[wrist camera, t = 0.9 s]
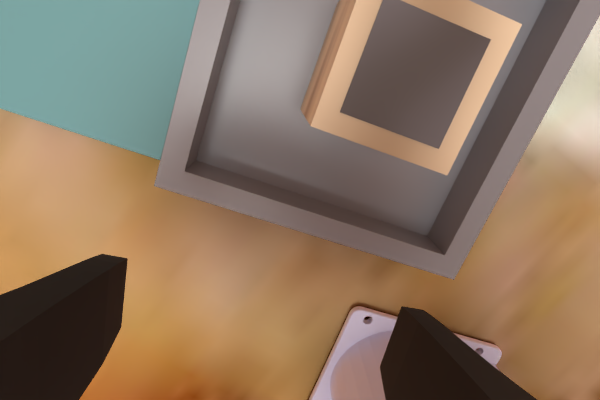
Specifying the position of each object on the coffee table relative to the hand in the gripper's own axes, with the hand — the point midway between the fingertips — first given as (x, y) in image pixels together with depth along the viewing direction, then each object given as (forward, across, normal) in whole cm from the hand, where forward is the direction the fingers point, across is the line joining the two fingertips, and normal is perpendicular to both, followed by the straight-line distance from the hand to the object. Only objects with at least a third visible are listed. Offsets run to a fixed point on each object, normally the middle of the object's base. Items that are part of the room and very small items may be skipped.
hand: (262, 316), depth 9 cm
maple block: (+8, -3, -7) cm, 11 cm away
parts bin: (+9, -3, -7) cm, 12 cm away
